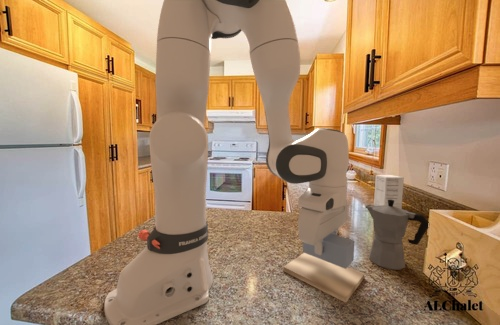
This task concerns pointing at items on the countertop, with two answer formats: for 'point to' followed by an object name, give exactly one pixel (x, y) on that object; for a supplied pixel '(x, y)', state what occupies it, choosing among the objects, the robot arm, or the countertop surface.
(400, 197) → the supplement box
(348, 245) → the slate block
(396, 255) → the coffeepot
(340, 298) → the beech board
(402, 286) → the countertop surface
